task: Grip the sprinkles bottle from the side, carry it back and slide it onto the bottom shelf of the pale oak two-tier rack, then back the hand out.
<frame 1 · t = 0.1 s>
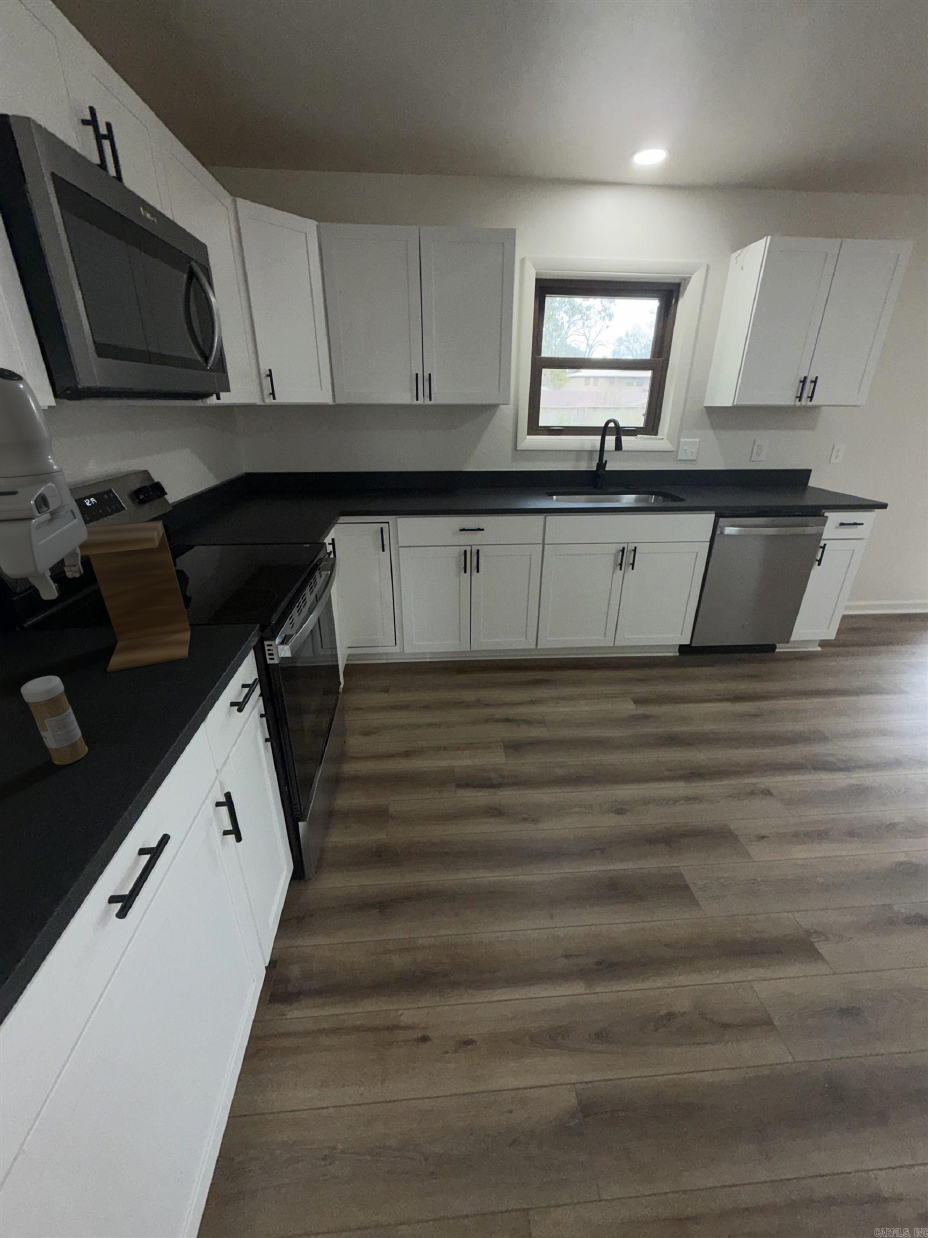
hand: (64, 586, 75), 25 cm above the counter, tool pointing down, fingers open, 8 cm apart
shelf: (154, 655, 106), on the counter
sprinkles bottle: (72, 757, 77), on the counter
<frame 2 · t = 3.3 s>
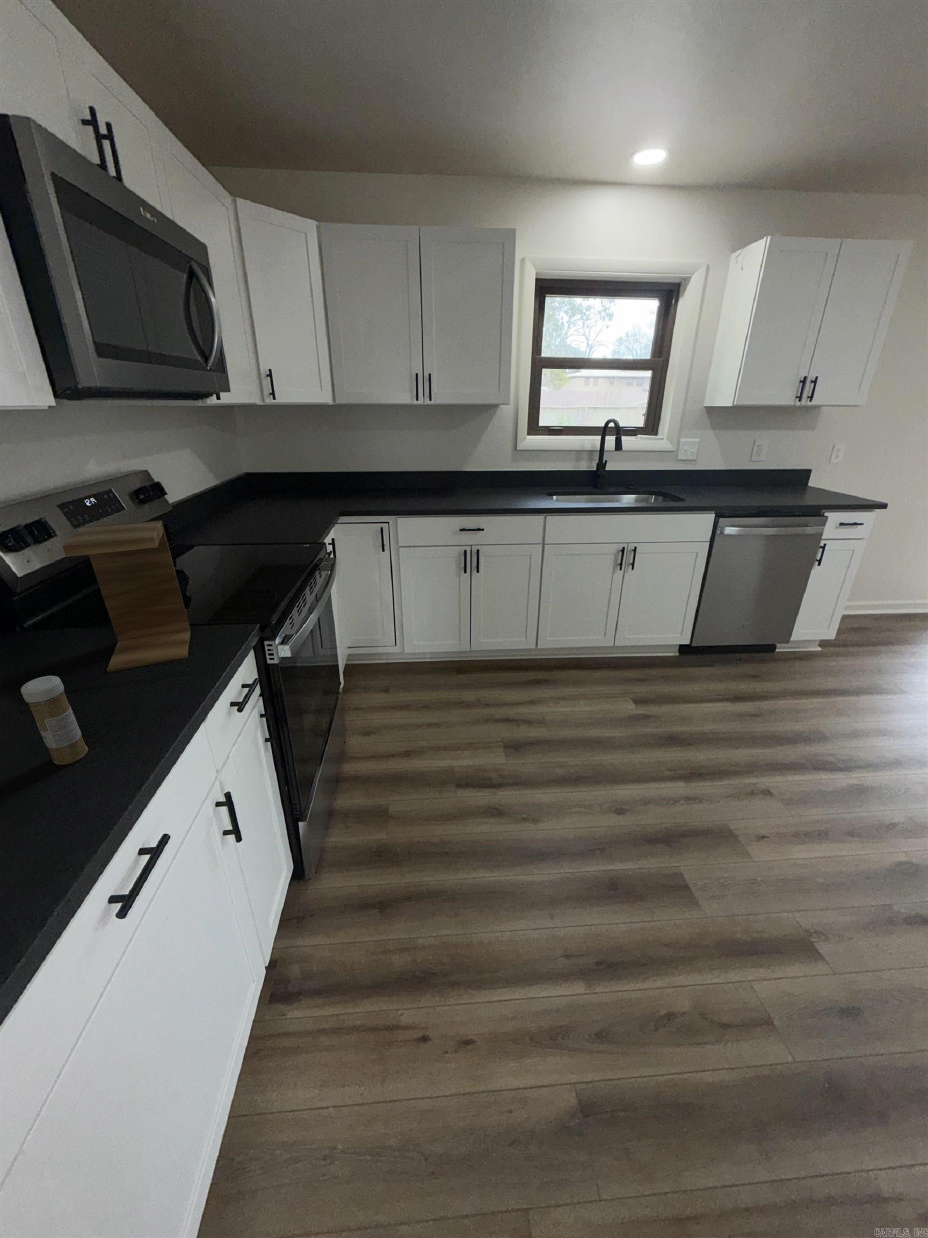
nothing on the counter moved.
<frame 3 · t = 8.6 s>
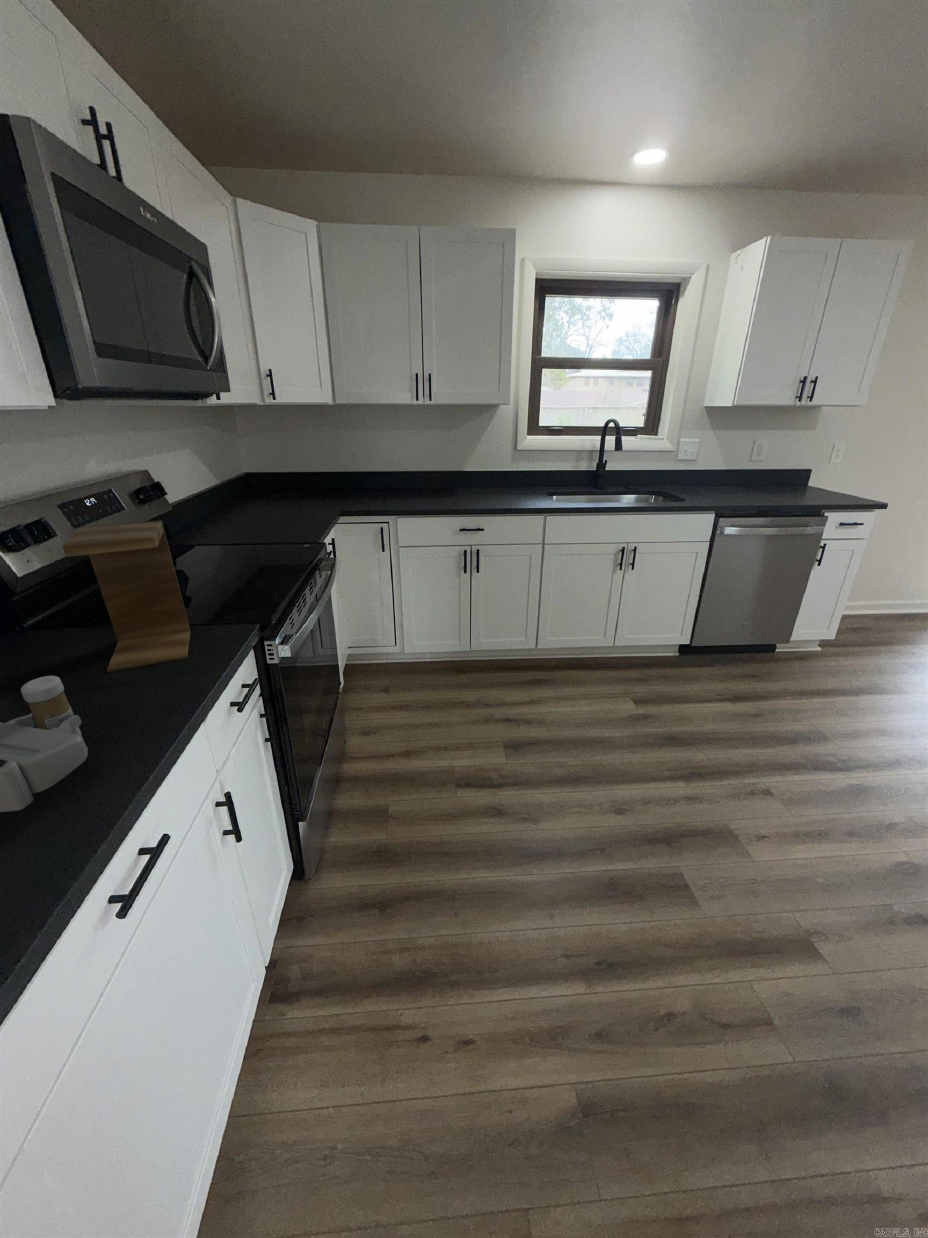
hand: (61, 716, 75), 7 cm above the counter, tool horizontal, fingers closed on sprinkles bottle, 4 cm apart
sprinkles bottle: (72, 757, 77), on the counter, touching gripper
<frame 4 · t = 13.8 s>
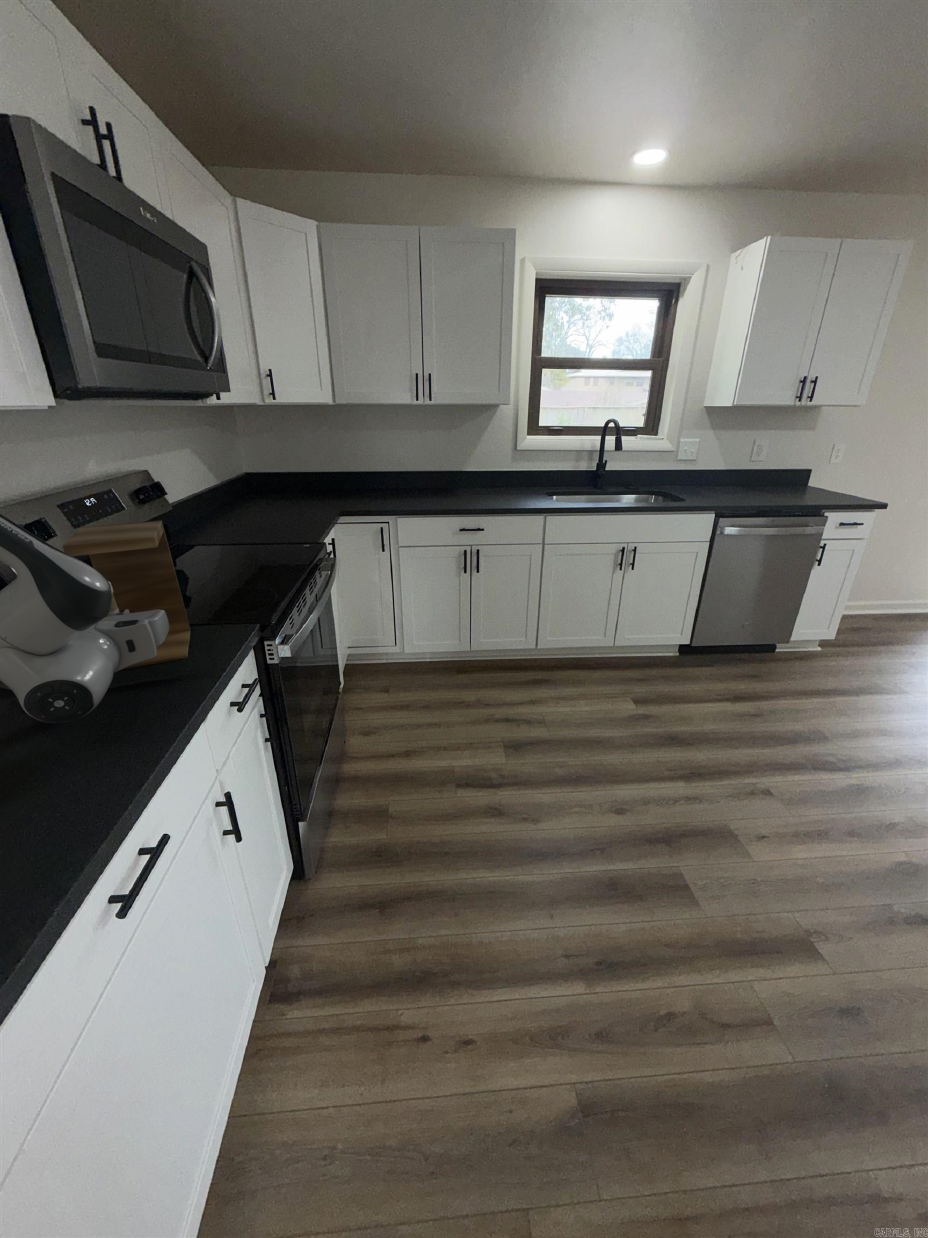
hand: (107, 616, 88), 15 cm above the counter, tool horizontal, fingers closed on sprinkles bottle, 4 cm apart
sprinkles bottle: (118, 653, 91), point 8 cm above the counter, touching gripper
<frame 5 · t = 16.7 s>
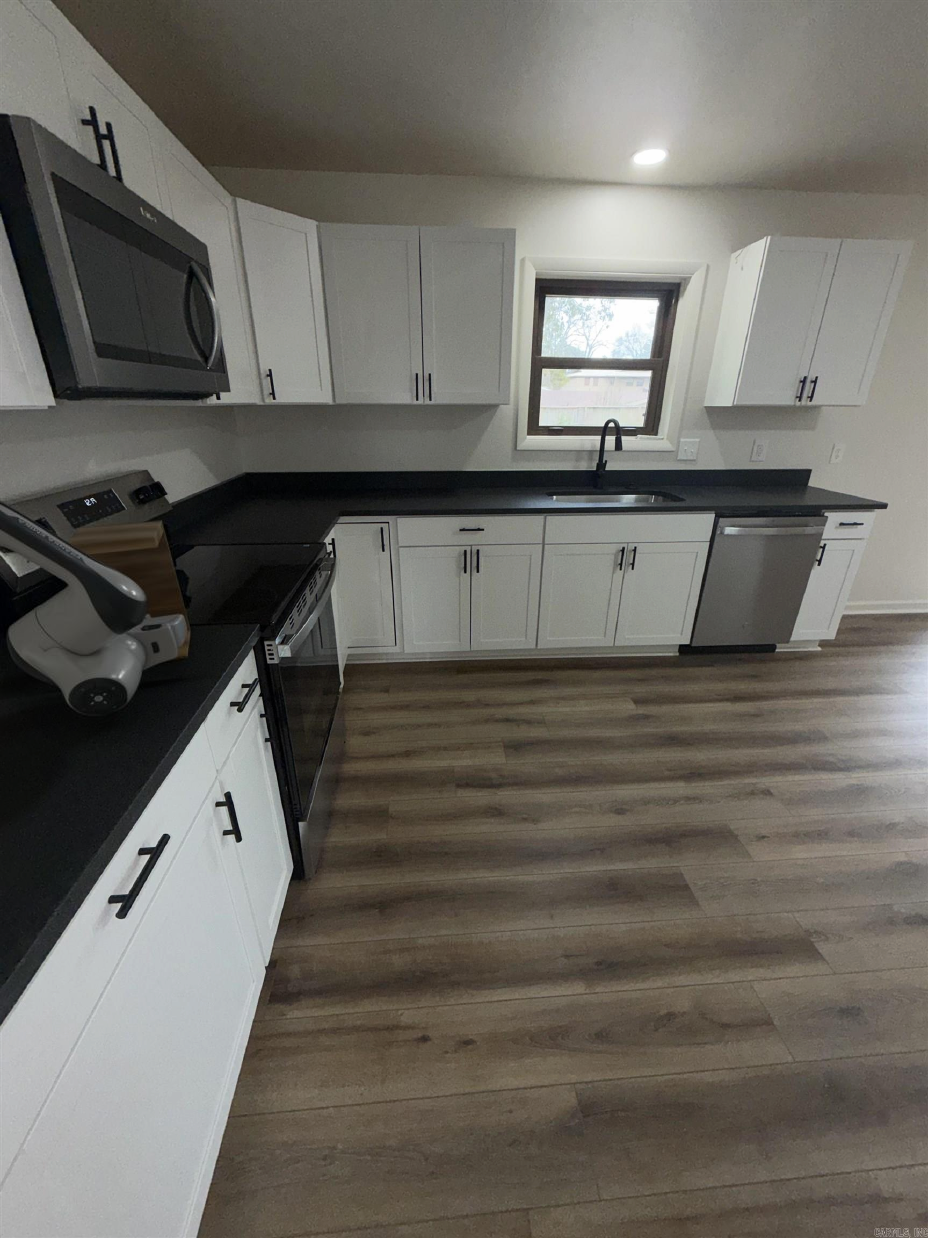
hand: (130, 620, 97), 11 cm above the counter, tool horizontal, fingers closed on sprinkles bottle, 4 cm apart
sprinkles bottle: (139, 654, 99), point 3 cm above the counter, touching gripper
when the fingers open (9 cm above the counter, at t = 19.2 s): sprinkles bottle stays where it is, resting on shelf.
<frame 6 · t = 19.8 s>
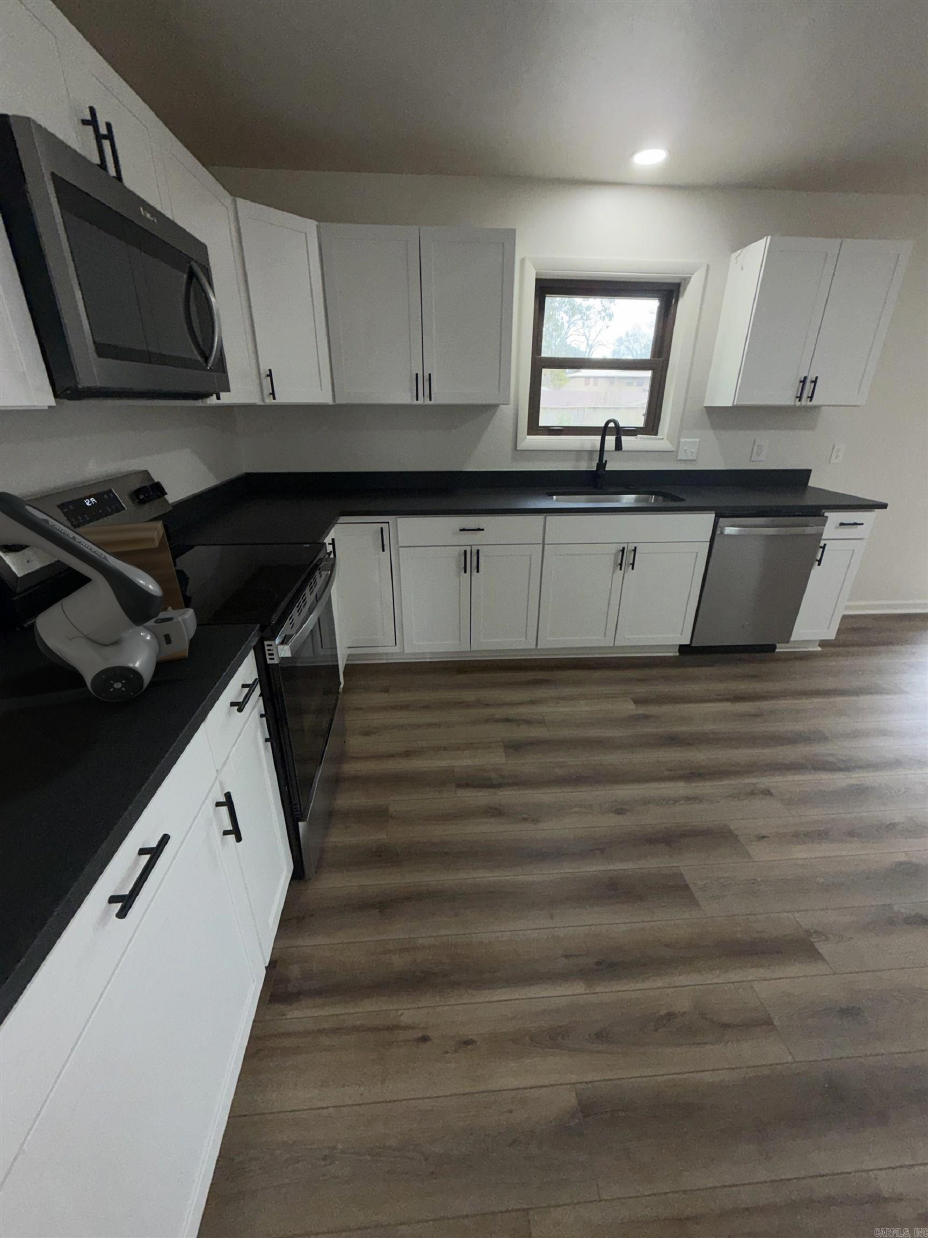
hand: (142, 614, 102), 9 cm above the counter, tool horizontal, fingers open, 8 cm apart
sprinkles bottle: (152, 648, 105), point 2 cm above the counter, touching shelf
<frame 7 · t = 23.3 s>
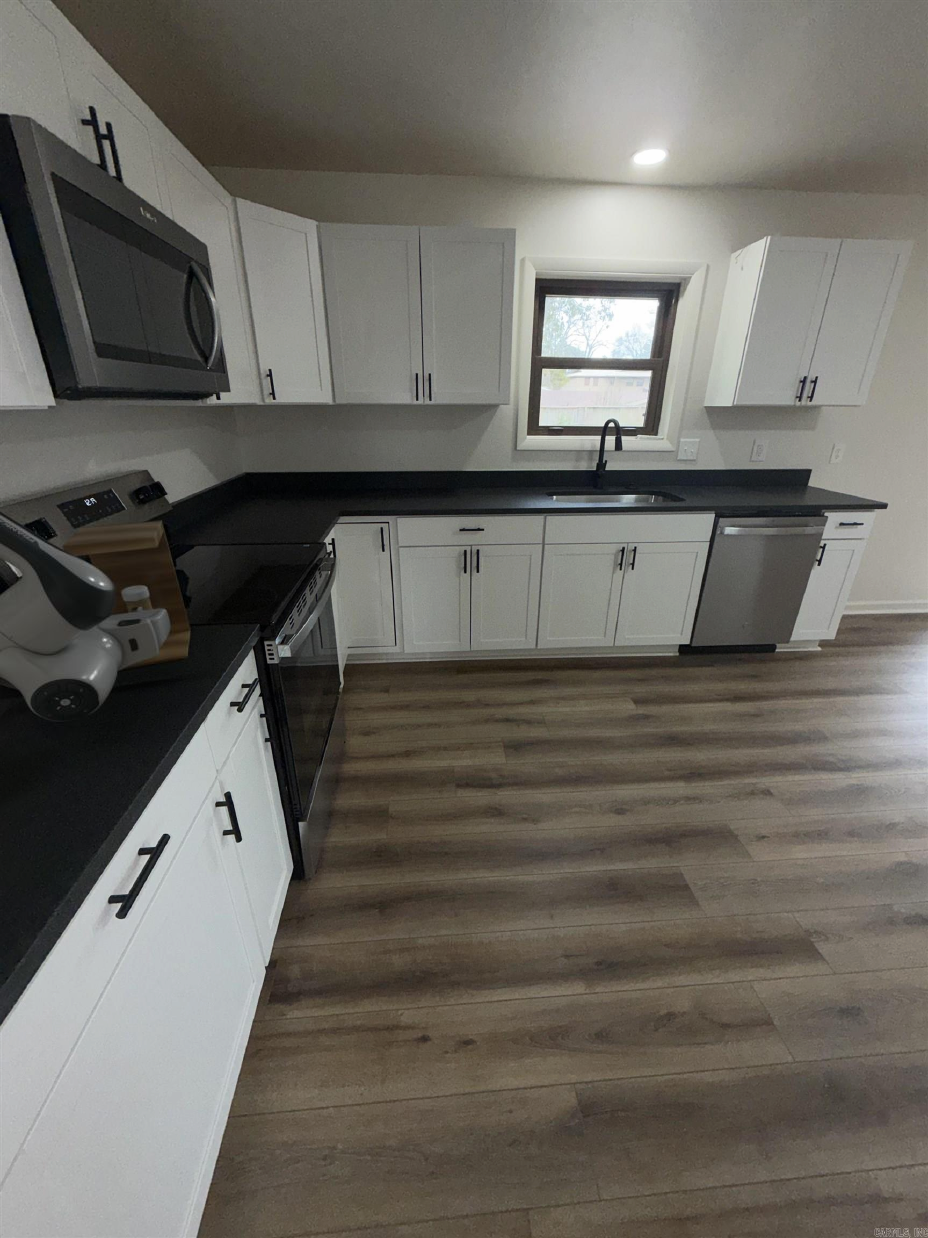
hand: (107, 615, 89), 15 cm above the counter, tool horizontal, fingers open, 8 cm apart
nothing on the counter moved.
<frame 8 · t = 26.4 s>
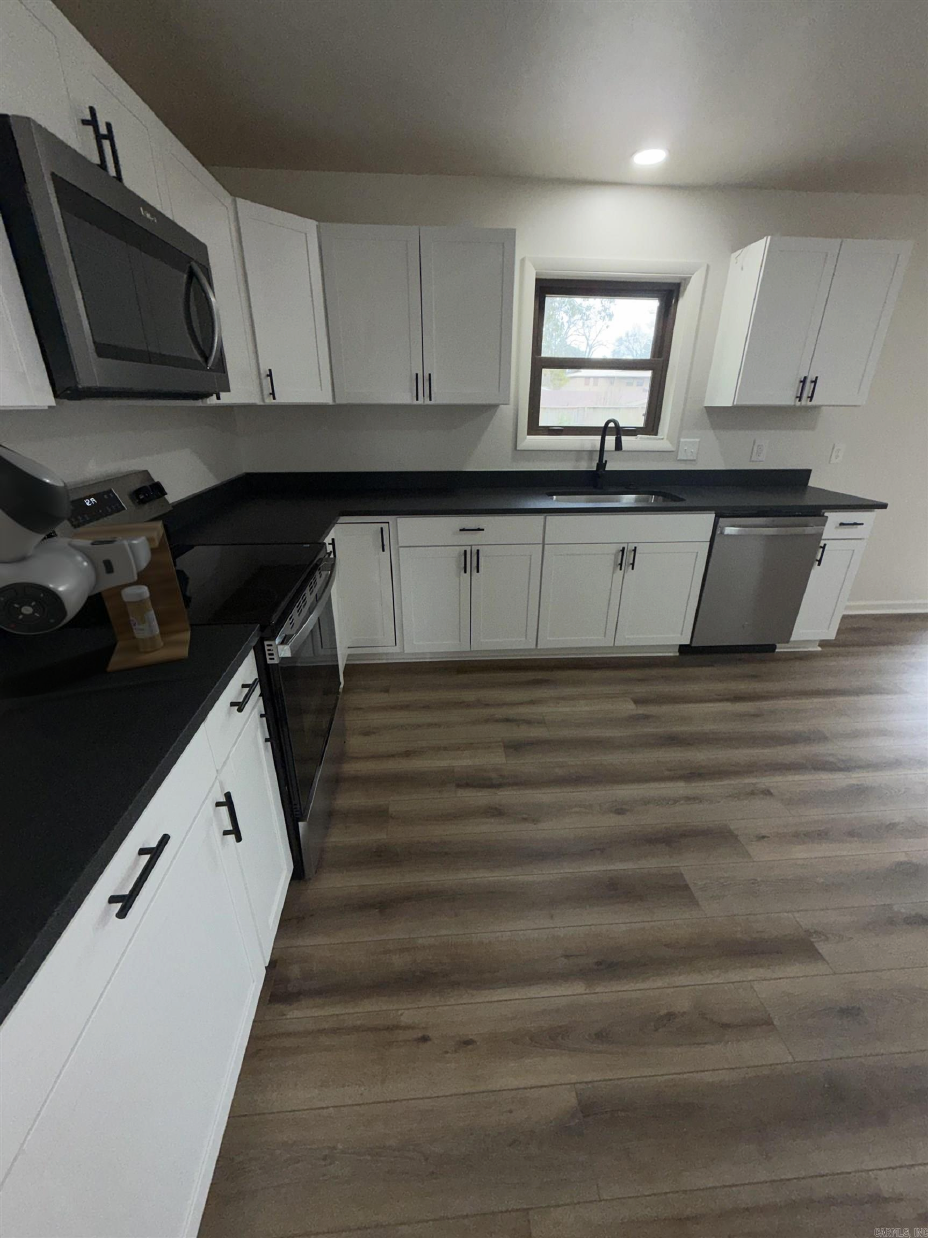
hand: (84, 544, 83), 28 cm above the counter, tool horizontal, fingers open, 8 cm apart
nothing on the counter moved.
at the end: sprinkles bottle inside the target area on the shelf (0.2 cm from its centre), point 1.8 cm above the shelf's base; sprinkles bottle tilted 0° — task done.
